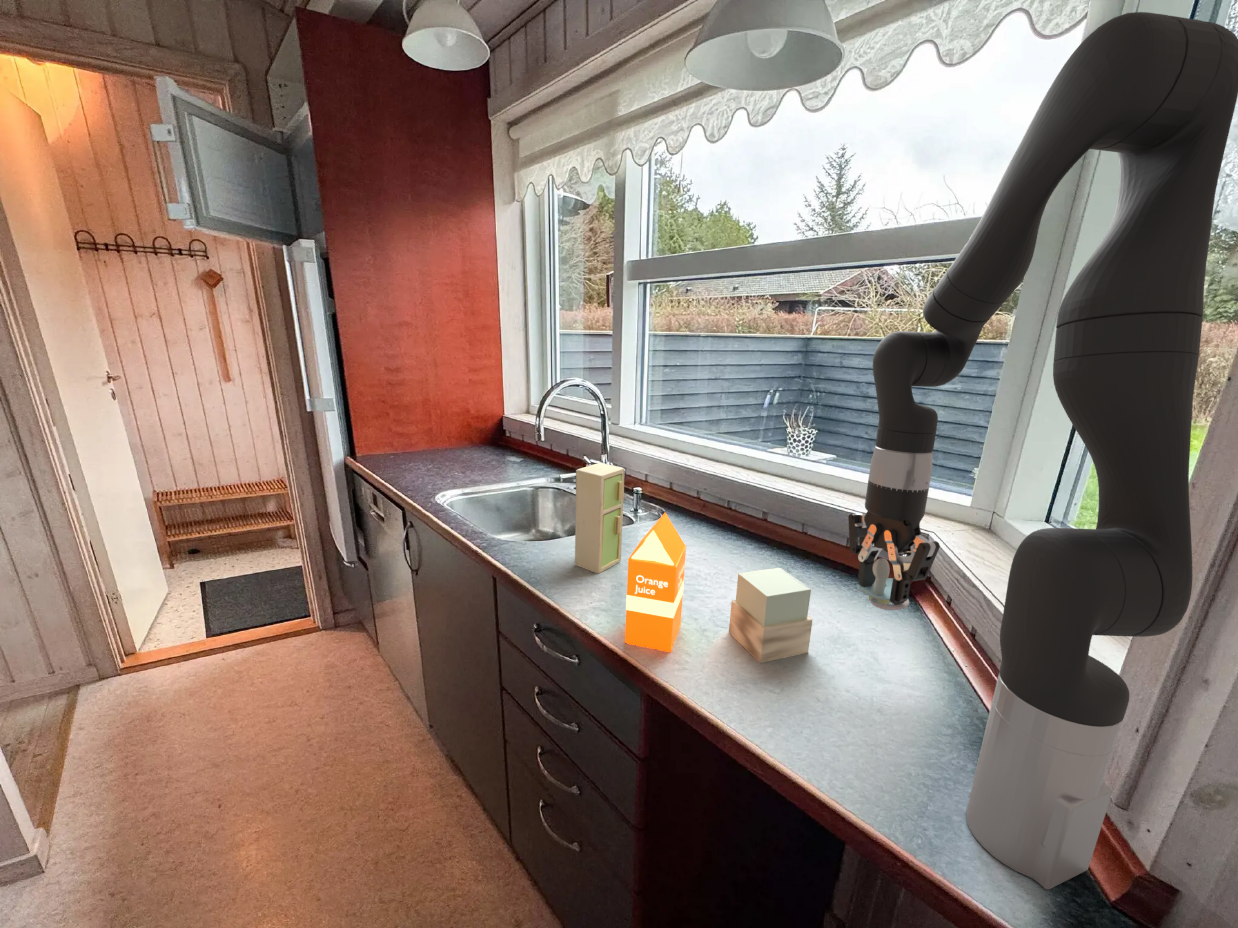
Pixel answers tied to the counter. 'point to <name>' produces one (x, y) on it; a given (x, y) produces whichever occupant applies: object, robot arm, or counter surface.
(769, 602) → the sage block
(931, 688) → the counter surface
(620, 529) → the toy refrigerator
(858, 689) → the counter surface
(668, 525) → the orange juice
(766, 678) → the counter surface
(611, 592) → the counter surface
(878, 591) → the pacifier
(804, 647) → the maple block
